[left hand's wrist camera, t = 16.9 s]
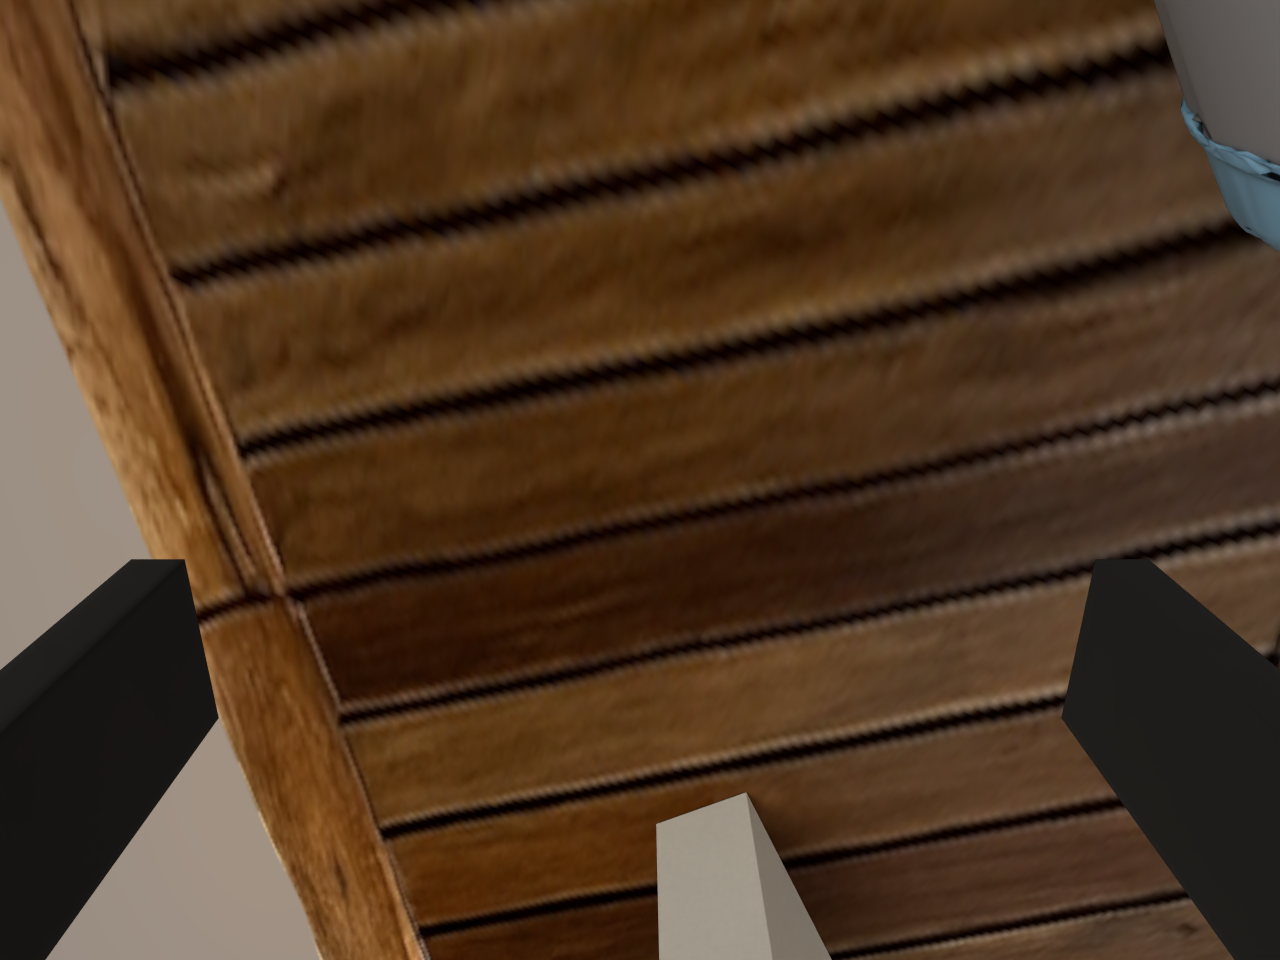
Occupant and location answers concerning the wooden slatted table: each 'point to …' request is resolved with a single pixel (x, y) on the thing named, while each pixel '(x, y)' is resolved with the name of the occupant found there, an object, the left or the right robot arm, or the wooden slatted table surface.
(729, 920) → the box
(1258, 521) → the wooden slatted table surface
